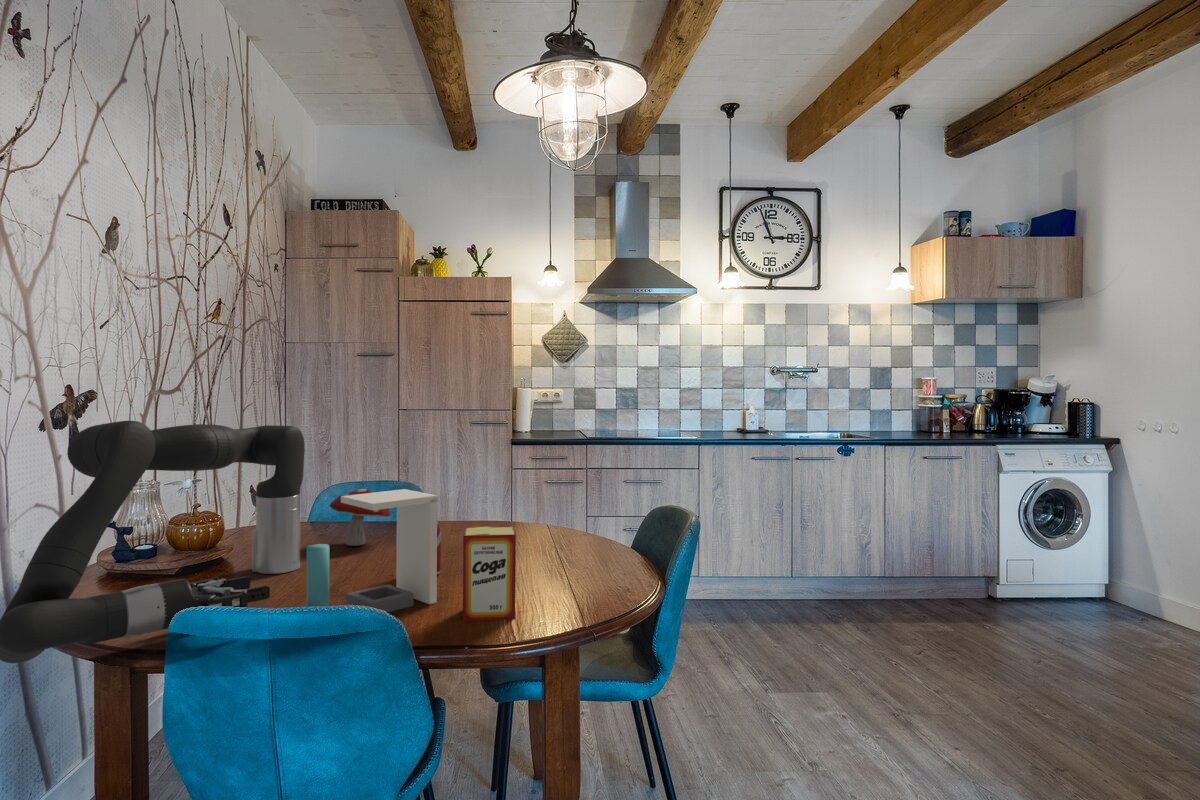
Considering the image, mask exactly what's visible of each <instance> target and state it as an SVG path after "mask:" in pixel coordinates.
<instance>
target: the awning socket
mask: <svg viewBox="0 0 1200 800" xmlns="http://www.w3.org/2000/svg"><path fill="white" fill-rule="evenodd" d="M340 496H341V495H340ZM438 502H439V495H438V494H433V493H427V492H422V491H416V490H412V489H406V488H402V489H393V490H386V491H385V490H384V491H383V490H382V491H378V492H377V491H376V492H375V491H374V492H373V493H366V494H357V495H348V496H341V503H345V504H349V505H353V506H357V507H361V508H365V509H369V510H380V509H387V508H389V509H394V508H396V566H395V567H396V577H395V578H396V580H395V581H396V585H392V584H390V583H387V584H382V585H378V586H377V585H376V586H373V587H369V588H364V589H360V590H356V591H352V592H347V593H346V605H347V604H353V605H365V606H369V607H374V608H377V609H382V610H385V611H387V612H388V613H391V612H392V613H393V612H395V611H399V610H403V609H407V608H411V607H414V599H415V600H416V601H419V602H422V603H424V604H428V605H433V604H436V603H437V597H438V596H437V594H438V593H437V591H438V589H437V588H438V587H437V586H438V585H437V583H438V579H437V577H438V576H437V575H438V574H437V521H438Z"/></svg>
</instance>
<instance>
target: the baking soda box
mask: <svg viewBox="0 0 1200 800" xmlns="http://www.w3.org/2000/svg"><path fill="white" fill-rule="evenodd" d="M462 537H463V539H462V541H463V542H462V543H463V545H462V546H463V547H462V549H463V550H462V622H470V621H471V622H472V621H473V622H474V621H492V620H493V621H495V620H497V621H498V620H515V619H516V560H517V559H516V553H517V552H516V550H517V549H516V547H517V546H516V545H517V544H516V542H517V541H516V540H517V539H516V537H517V535H516V530H515V527H512V526H511V527H510V526H509V527H507V526H505V527H501V526H500V527H490V526H478V527H466V528H464V529H463V536H462Z"/></svg>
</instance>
